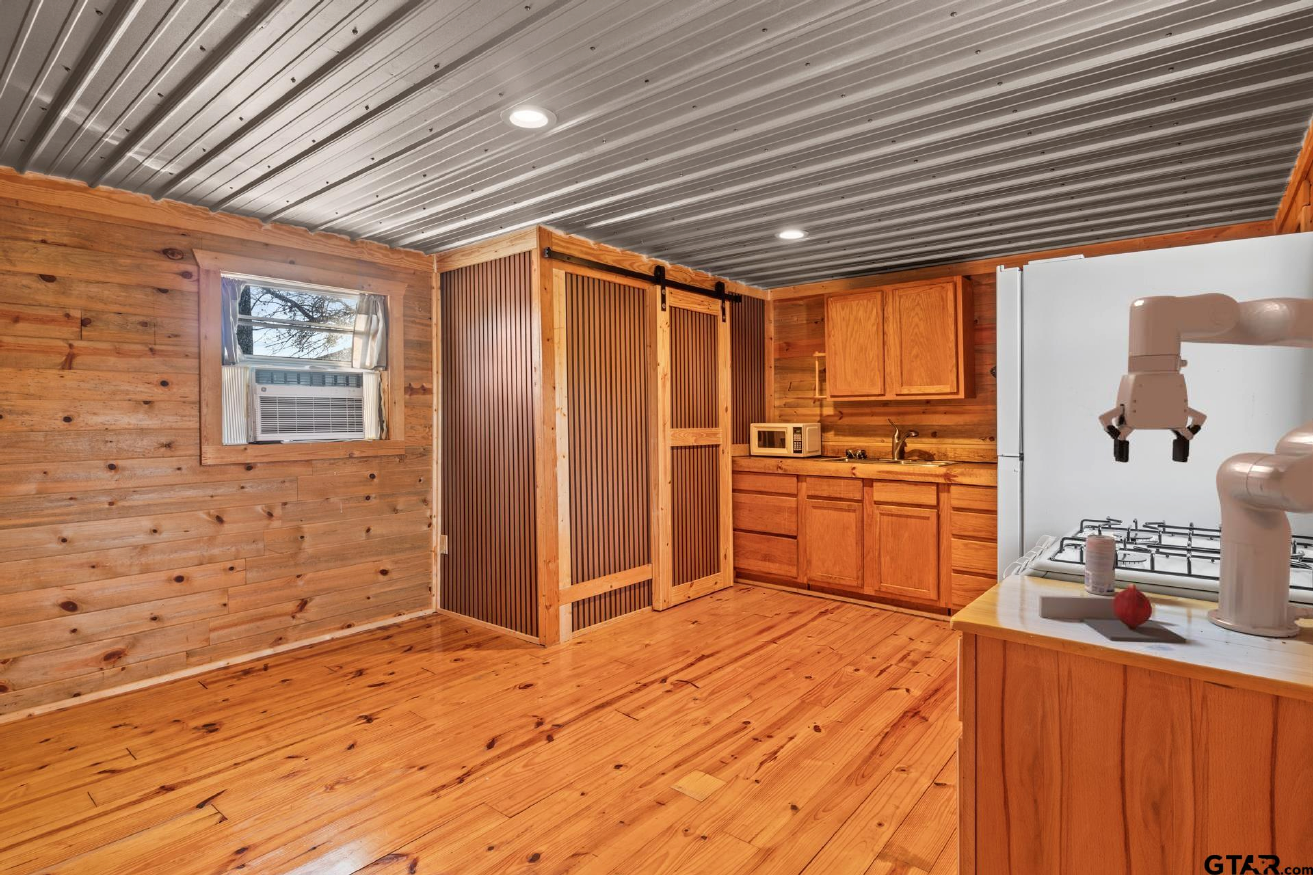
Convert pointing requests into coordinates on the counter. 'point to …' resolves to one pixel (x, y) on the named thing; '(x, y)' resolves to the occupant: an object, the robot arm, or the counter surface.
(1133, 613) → the onion
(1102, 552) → the energy drink
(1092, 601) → the low wall
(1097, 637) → the counter surface
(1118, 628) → the rubber mat
